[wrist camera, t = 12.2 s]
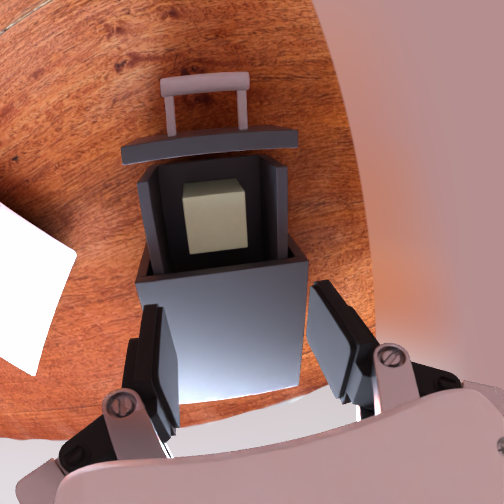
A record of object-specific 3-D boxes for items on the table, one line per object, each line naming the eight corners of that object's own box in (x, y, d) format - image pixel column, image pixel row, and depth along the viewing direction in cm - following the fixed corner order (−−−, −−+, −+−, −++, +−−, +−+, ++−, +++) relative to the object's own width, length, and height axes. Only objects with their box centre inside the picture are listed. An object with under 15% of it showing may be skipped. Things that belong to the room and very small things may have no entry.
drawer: (134, 89, 21) (114, 81, 15) (270, 77, 23) (296, 67, 17) (161, 277, 29) (156, 321, 23) (274, 263, 31) (295, 302, 25)
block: (183, 183, 24) (182, 198, 20) (236, 177, 25) (244, 190, 21) (189, 232, 26) (189, 254, 22) (239, 226, 27) (247, 247, 23)
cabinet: (147, 234, 28) (134, 282, 20) (277, 219, 30) (309, 260, 22) (174, 347, 34) (175, 404, 27) (277, 332, 36) (299, 385, 29)
